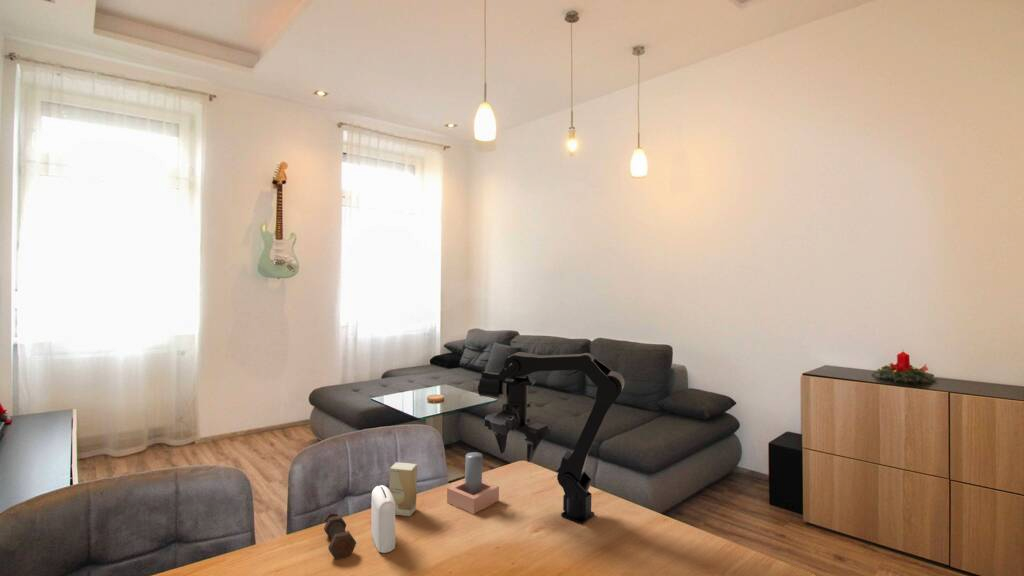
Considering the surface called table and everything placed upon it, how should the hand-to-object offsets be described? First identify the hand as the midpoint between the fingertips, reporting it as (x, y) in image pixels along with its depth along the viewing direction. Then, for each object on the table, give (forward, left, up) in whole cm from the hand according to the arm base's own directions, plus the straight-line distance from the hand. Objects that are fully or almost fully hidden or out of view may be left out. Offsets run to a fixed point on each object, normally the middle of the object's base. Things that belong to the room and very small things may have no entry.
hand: (515, 457), depth 132 cm
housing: (+10, +6, -13) cm, 18 cm away
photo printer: (+12, +34, -13) cm, 38 cm away
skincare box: (+20, +22, -13) cm, 33 cm away
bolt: (+20, +40, -14) cm, 47 cm away
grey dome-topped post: (+10, +6, -12) cm, 17 cm away
